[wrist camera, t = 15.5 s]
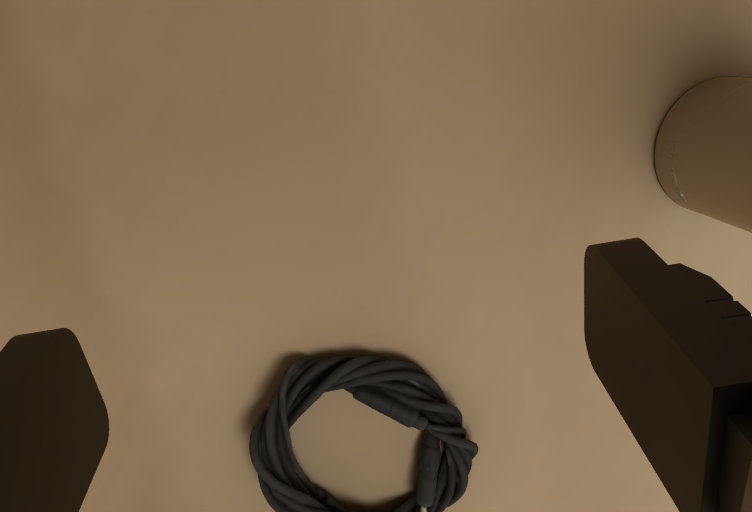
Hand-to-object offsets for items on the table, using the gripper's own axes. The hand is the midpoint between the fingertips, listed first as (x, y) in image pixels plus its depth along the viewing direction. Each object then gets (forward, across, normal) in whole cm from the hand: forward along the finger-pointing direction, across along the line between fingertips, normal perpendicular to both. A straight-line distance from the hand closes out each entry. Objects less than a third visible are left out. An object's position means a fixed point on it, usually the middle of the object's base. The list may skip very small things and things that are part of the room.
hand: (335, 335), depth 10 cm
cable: (+28, +2, +27) cm, 39 cm away
